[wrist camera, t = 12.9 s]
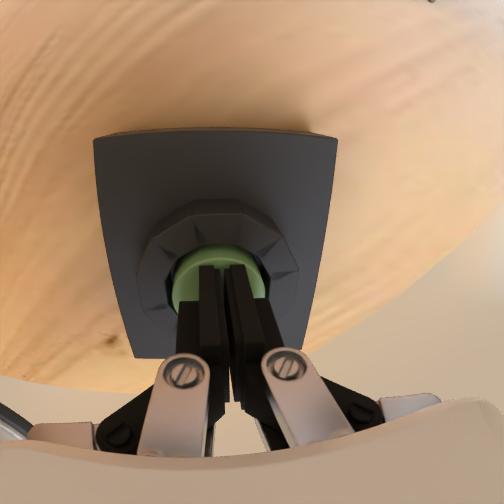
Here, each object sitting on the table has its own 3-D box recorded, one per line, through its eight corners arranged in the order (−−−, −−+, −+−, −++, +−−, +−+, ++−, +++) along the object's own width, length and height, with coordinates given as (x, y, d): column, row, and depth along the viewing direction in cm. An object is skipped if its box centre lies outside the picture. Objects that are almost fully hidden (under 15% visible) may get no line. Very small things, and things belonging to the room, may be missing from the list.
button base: (288, 316, 19) (310, 372, 15) (141, 323, 17) (130, 382, 13) (312, 132, 13) (360, 144, 9) (115, 132, 12) (73, 144, 7)
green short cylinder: (254, 302, 14) (262, 330, 12) (179, 305, 13) (177, 335, 11) (258, 233, 12) (269, 256, 10) (172, 235, 11) (166, 259, 10)
